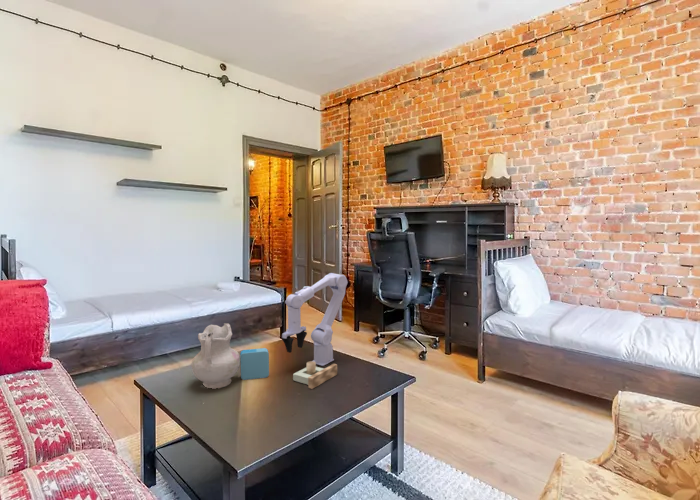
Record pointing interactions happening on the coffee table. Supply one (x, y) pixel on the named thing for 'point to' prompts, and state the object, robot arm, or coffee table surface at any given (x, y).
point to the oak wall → (322, 376)
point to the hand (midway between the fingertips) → (294, 349)
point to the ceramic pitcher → (215, 357)
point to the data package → (254, 363)
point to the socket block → (304, 375)
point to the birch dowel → (311, 367)
